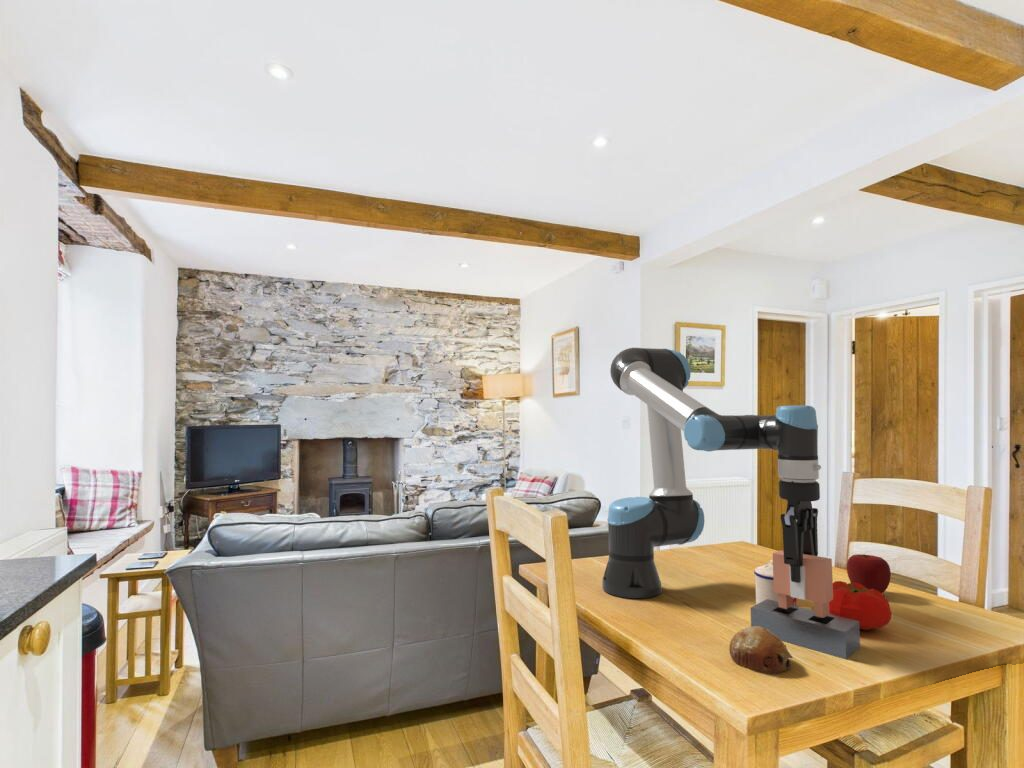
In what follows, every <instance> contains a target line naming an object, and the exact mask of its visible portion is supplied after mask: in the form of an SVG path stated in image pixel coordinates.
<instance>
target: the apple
mask: <svg viewBox="0 0 1024 768" xmlns="http://www.w3.org/2000/svg"><path fill="white" fill-rule="evenodd" d="M846 562H847V563H846V574H847V576H848V579H849V583H852V582H856V583H859V584H861V585H863V586H864V587H866V588H867V589H868V590H869V589H874V590H876V591H879V592H881V593H882V594H884V593H885V592H886V590H887V589H888V587H889V585H890V583H891V578H892V576H891V575H892V574H891V567H890V565H889V563H888V562H887V561H886V560H885V559H884V558H883V557H880V556H876V555H870V554H865V553H863V554H861V553H860V554H853V555H851V556H849V557H848V559H847V561H846Z"/></svg>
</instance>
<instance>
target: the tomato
mask: <svg viewBox="0 0 1024 768" xmlns="http://www.w3.org/2000/svg"><path fill="white" fill-rule="evenodd" d="M829 614H831V615H835V616H839V617H844V618H848V619H852V620H856V621H859V630H863V631H868V630H875V629H879V628H882V627H885V626H887V625H888V624H889V623H890V621H891V620H892V610H891V606H890V603H889V600H888V599H887V598H886V596H885V595H884V593H881V592H879V591H876V590H874V589H869V590H868V589H867V588H866V587H864V586H863V585H861V584H859V583H856V582H852V583H851V582H846V581H842V580H835V581H834V582H833V600H831V601H830V602H829Z"/></svg>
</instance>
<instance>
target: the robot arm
mask: <svg viewBox="0 0 1024 768" xmlns="http://www.w3.org/2000/svg"><path fill="white" fill-rule="evenodd" d="M609 372H610V377H611V380H612V382H613V384H614V385H615V386H616V387H617V388H618V389H619V390H620V391H622V392H623V393H624V394H626V395H628V396H635V397H636V398H638V399H639V400H640V401H641V402H643V403H644V404H646V407H647V417H648V420H647V421H648V429H649V430H648V431H649V442H650V453H651V454H650V455H651V457H650V458H651V467H652V468H651V469H652V479H653V489H652V490H651V492H650V493H649V495H648V497H645V496H634V497H630V496H629V497H623V498H619V499H616V500H614V501H612V502H611V503H610V505H609V506H608V513H607V523H608V524H607V525H608V526H607V528H608V530H607V531H608V532H607V533H608V560H607V564H606V566H605V571H604V573H603V577H602V580H601V581H602V583H601V585H602V587H601V588H602V590H603V591H604V592H605V593H607V594H609V595H612V596H615V597H618V598H627V599H647V598H648V599H649V598H654V597H657V596H659V595H661V593H662V581H661V579H660V576H659V572H658V569H657V566H656V563H655V557H654V556H655V553H654V552H655V551H654V548H655V547H663V546H672V545H681V546H682V545H684V544H687V543H692V542H694V541H696V540H698V538H699V537H700V536H701V534H702V533H703V530H704V526H705V513H704V510H703V508H702V507H701V504H700V503H699V502H698V501H697V500H695V499H694V495H693V492H692V491H691V490H689V488H688V487H687V482H686V473H685V472H686V471H685V460H684V449H683V437H682V432H683V436H684V440H685V441H686V442H687V445H688V447H690V448H691V449H693V450H694V451H703V452H704V451H705V452H714V451H729V450H730V451H731V450H734V451H735V450H737V451H738V450H739V451H740V450H773V451H775V450H776V451H777V477H778V478H780V480H779V481H778V496H779V498H780V499H782V500H786V501H787V502H786V503H787V505H786V511H785V513H781V514H780V521H781V529H782V546H783V549H782V550H783V551H784V563H785V564H789V567H790V596H791V597H794V598H797V599H799V600H803V601H805V600H807V599H806V585H805V566H802V565H803V554H807V555H813V556H818V555H819V544H818V543H819V542H818V515H819V514H818V513H819V509H818V508H817V507H813V503H812V502H818V501H819V500H820V498H821V491H820V490H821V489H820V483H819V482H818V481H816V480H818V479H820V475H819V474H820V473H819V471H820V470H821V469H822V466H821V465H820V464H819V455H818V453H819V452H818V431H819V425H818V420H817V411H816V409H815V407H813V405H812V406H811V405H780V406H777V407H776V409H775V412H776V413H775V415H771V414H770V415H768V414H767V415H765V414H756V415H755V414H743V415H742V414H741V415H739V414H738V415H737V414H736V415H734V414H733V415H728V414H727V415H722V414H719V413H717V412H715V411H714V410H712V409H710V408H709V407H707V405H704V404H703V403H701V402H700V401H698V400H696V399H695V398H693V397H692V396H691V395H689V394H687V393H686V392H684V389H685V388H686V387H687V386H688V385H689V381H690V380H691V367H690V363H689V361H688V359H687V358H686V356H685V355H684V354H682V353H681V352H680V351H678V350H674V349H668V348H651V347H648V348H647V347H646V348H644V347H630V348H625V349H623V350H622V351H620V352H619V353H618V354H616V356H615V357H614V358H613V360H612V363H611V364H610V371H609Z"/></svg>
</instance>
